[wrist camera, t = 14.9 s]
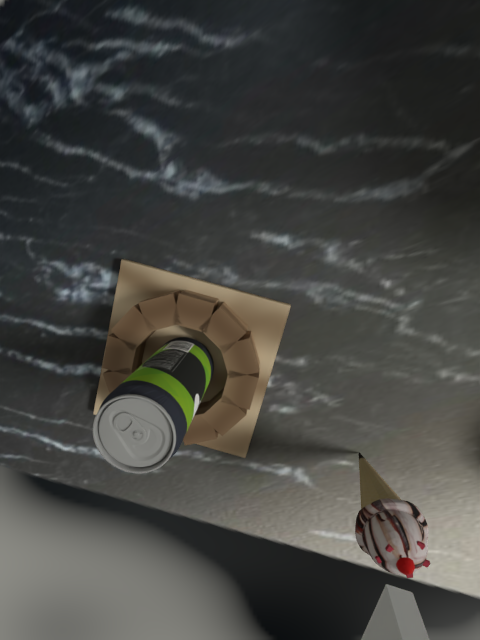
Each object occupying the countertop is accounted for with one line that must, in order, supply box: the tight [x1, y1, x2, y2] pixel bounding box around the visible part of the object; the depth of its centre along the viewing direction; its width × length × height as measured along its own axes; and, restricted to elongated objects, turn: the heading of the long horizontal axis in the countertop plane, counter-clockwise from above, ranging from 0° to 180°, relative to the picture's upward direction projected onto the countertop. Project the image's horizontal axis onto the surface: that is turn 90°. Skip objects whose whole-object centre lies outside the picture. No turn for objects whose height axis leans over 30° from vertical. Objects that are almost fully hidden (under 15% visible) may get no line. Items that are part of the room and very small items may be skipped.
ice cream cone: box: [355, 453, 430, 578], centre depth 33 cm, size 6×6×15 cm
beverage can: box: [93, 337, 214, 473], centre depth 31 cm, size 6×6×15 cm
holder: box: [93, 259, 291, 458], centre depth 37 cm, size 18×18×4 cm
